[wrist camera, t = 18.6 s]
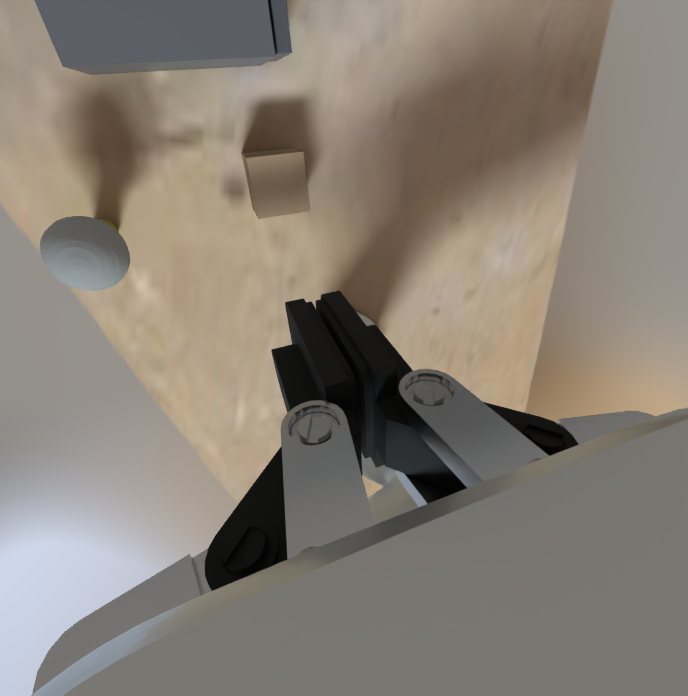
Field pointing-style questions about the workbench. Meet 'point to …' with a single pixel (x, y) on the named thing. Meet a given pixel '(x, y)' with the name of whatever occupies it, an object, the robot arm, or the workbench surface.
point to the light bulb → (85, 252)
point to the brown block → (277, 181)
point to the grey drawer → (280, 28)
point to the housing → (158, 34)
